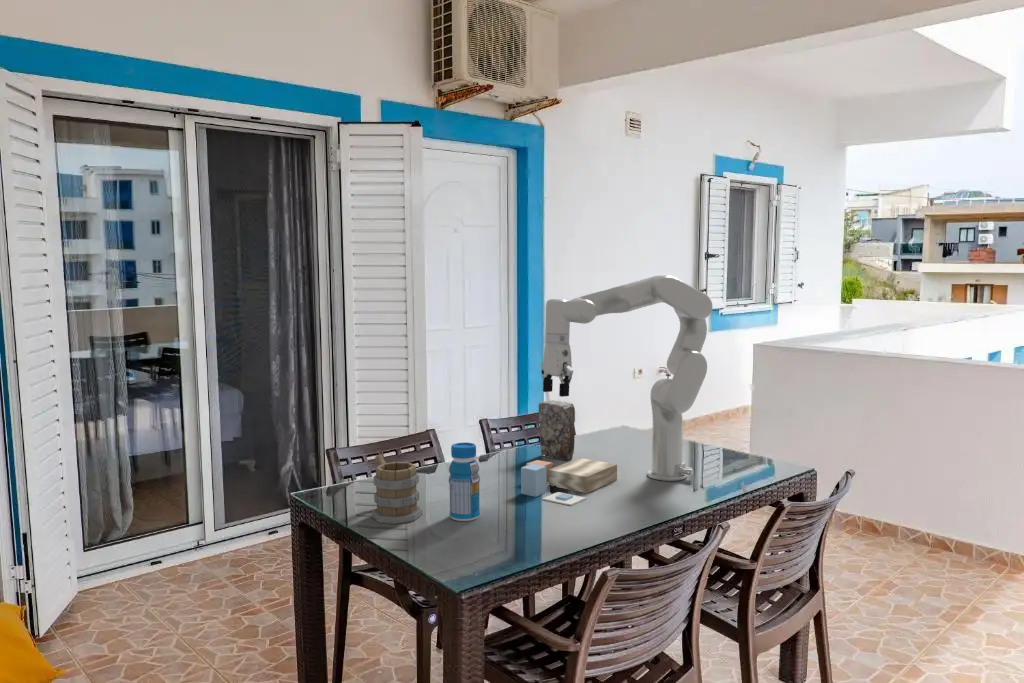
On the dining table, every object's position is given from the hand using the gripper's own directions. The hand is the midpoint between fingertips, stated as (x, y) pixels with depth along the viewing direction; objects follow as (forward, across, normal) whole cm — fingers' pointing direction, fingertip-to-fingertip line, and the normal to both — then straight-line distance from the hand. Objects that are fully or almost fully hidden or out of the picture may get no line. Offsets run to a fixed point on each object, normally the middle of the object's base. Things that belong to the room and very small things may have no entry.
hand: (555, 393), depth 233 cm
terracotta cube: (+29, +4, +3) cm, 29 cm away
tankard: (+30, -2, +54) cm, 62 cm away
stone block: (+28, +28, -19) cm, 44 cm away
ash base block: (+28, -4, -8) cm, 30 cm away
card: (+28, -16, +6) cm, 33 cm away
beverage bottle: (+30, -16, +38) cm, 50 cm away
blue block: (+29, -6, +10) cm, 31 cm away
